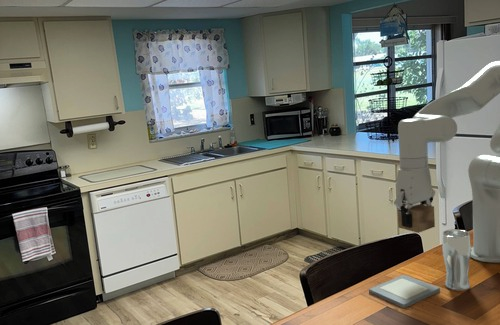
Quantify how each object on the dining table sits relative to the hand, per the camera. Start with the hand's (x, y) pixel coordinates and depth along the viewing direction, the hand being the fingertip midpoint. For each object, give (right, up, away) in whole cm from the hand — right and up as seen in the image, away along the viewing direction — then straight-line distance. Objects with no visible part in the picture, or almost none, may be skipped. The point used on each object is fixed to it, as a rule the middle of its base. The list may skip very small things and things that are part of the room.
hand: (416, 223), depth 133 cm
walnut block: (0, -1, 0) cm, 1 cm away
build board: (-6, -18, -7) cm, 20 cm away
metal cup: (+9, -16, -7) cm, 20 cm away
